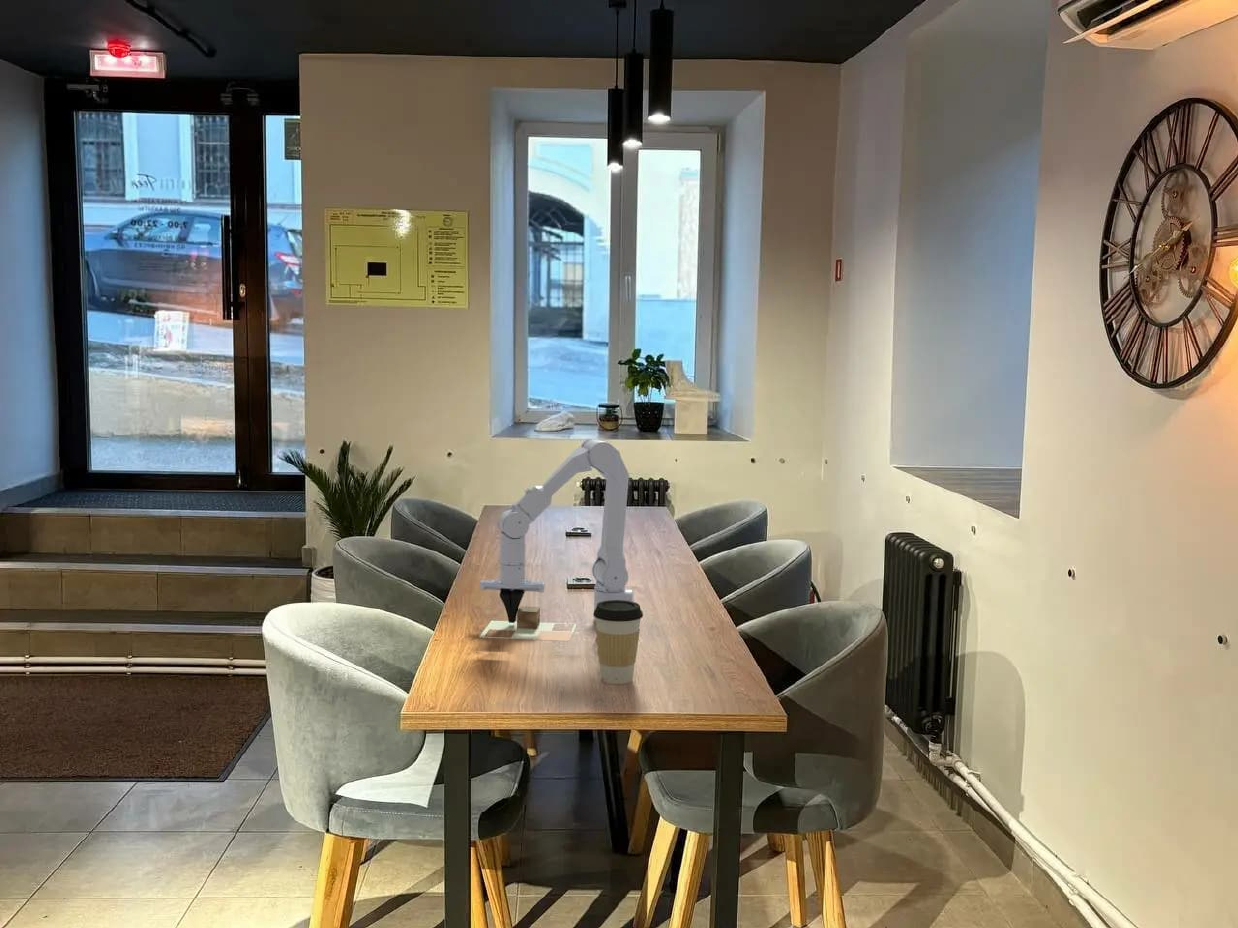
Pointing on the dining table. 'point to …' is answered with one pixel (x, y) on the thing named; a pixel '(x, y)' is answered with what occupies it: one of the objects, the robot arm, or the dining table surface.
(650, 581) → the dining table surface
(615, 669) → the coffee cup
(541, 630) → the board
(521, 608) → the block
